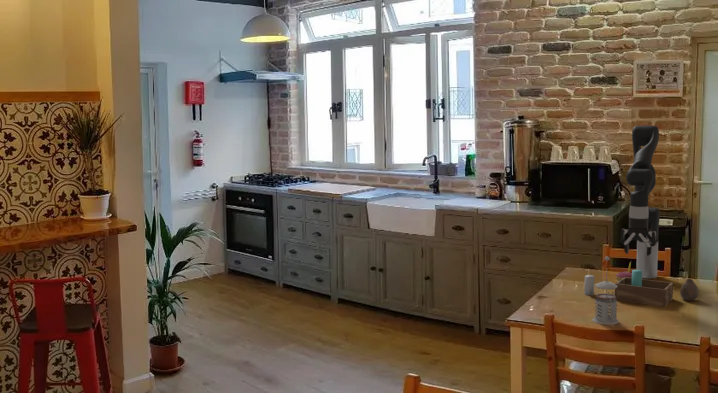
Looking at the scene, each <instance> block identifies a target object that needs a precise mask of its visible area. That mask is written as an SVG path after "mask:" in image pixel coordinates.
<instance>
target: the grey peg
mask: <svg viewBox="0 0 718 393" xmlns="http://www.w3.org/2000/svg"><path fill="white" fill-rule="evenodd" d="M583 294H584V295H586V296H594V295H595V275H592V274H586V275H584V293H583Z"/></svg>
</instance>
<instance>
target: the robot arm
mask: <svg viewBox="0 0 718 393" xmlns="http://www.w3.org/2000/svg"><path fill="white" fill-rule="evenodd" d="M659 140H660V131H659V127H658V126H657V125H652V124H651V125H635V126H633V128H632V131H631V141H632V152H633V161H632V165H631V166H630V167H629V169H628V170H627V172H626V175H625V180H626V183H627V184H628V185H629V186H633V187H634V191H631V192H630V194H629V195H630V197H629V199H630V200H629V201H630V203H629V211H628V212H629V213H628V229H625V228H622V229H620V235H619V243H620V244H623V245H624V253H625V254H626V255H627V254H629V253H630V243H631V241H636V269H635V270H641V271H642V279H646V280H652V279H657V277H658V263H659V262H658V261H659V260H658V259H659V257H658V256H659V255H658V254H659V228H660V216H661V215H660V214H661V212H660V209H659V208H658V207H649V195H650V194H651V192H652V191H653V189H655V186H656V184H657V183H656V182H657V181H656V177H657V176H656V172H657V171H656V169H655V168H654V166H653V165H652V159H653V156H654V154H655V152H656V149H657V146H658V144H659ZM649 228H650V230H649ZM626 234H628V235H629V236H628V238H627V239H626V240H625V238H626V237H625V236H626Z"/></svg>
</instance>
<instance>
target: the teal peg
mask: <svg viewBox="0 0 718 393" xmlns="http://www.w3.org/2000/svg"><path fill="white" fill-rule="evenodd" d="M631 273H632V285H633V286H641V287H642V279H643V278H642V271H641V270H636V269H632V270H631Z"/></svg>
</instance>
